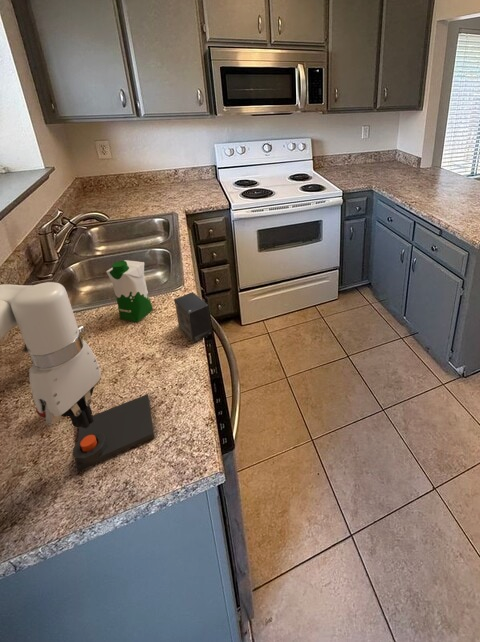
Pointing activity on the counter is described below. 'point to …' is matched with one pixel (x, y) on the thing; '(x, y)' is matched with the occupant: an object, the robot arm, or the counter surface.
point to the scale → (116, 431)
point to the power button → (88, 443)
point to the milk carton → (130, 290)
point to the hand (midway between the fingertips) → (84, 423)
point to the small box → (193, 317)
